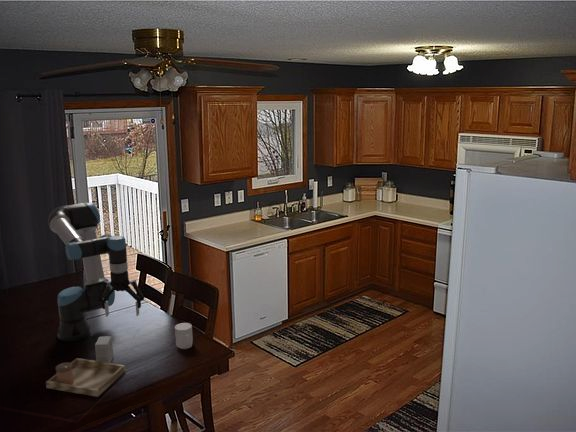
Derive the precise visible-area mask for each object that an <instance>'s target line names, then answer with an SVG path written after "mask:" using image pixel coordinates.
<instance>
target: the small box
mask: <svg viewBox="0 0 576 432" xmlns="http://www.w3.org/2000/svg"><path fill="white" fill-rule="evenodd" d="M94 348H95V350H94V351H95V358H96V359H95V361H100V362H107V363H112V362H113V361H112V360H113V358H114V351H113V349H114V348H113V337H112V336H109V335H107V336H105V335H104V336H99V337H98V338H97V341H96V342H95V343H94Z"/></svg>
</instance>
